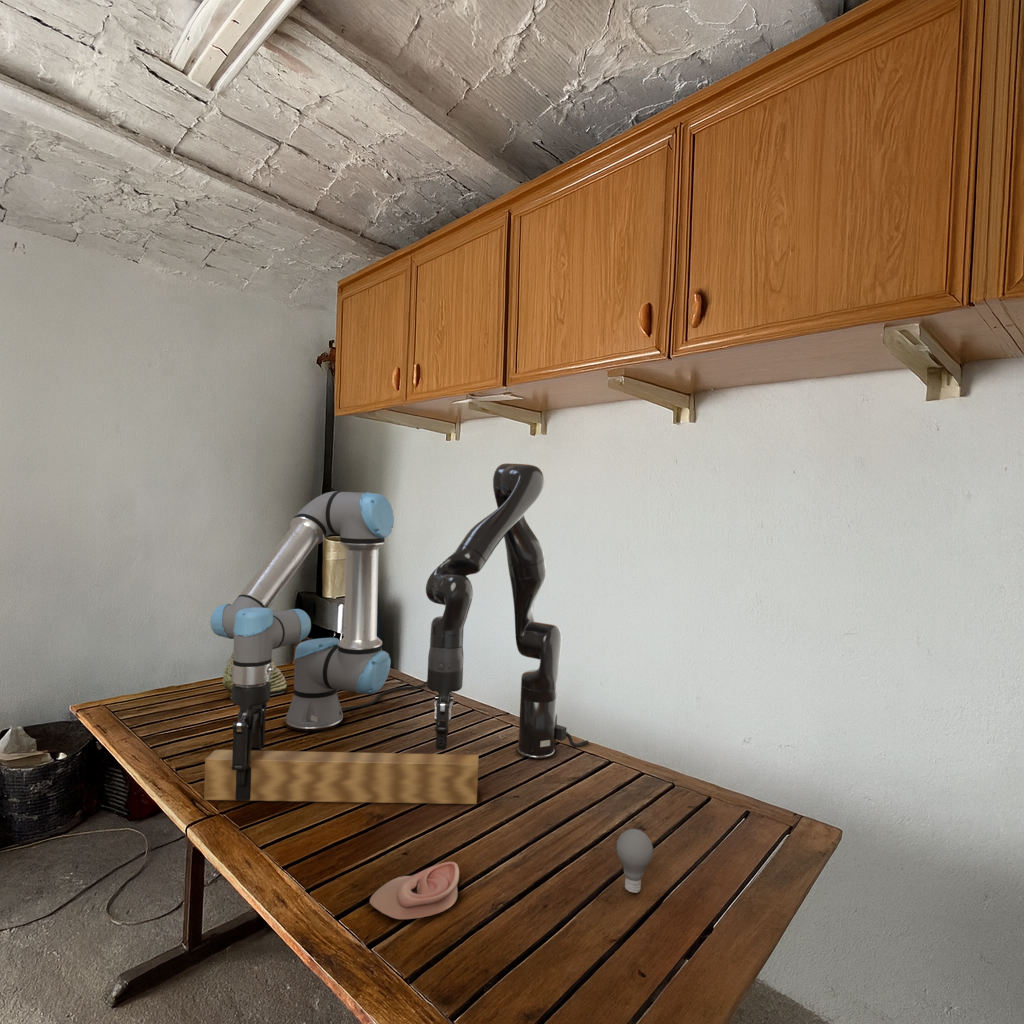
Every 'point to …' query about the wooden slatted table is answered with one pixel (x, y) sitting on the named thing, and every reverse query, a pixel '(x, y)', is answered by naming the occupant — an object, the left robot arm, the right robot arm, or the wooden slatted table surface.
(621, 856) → the light bulb
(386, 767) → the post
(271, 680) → the fossil
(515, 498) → the right robot arm
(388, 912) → the anatomical model
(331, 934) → the wooden slatted table surface
